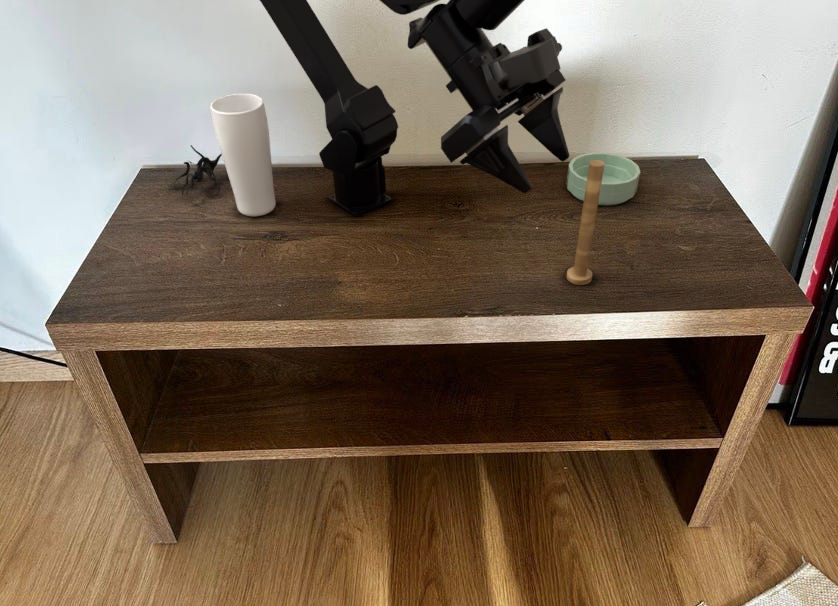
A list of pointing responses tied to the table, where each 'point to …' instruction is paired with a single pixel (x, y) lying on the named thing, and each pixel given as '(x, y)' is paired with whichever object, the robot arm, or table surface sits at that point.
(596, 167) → the stick
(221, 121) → the drinking glass
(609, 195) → the bowl
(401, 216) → the table surface
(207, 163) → the creature
